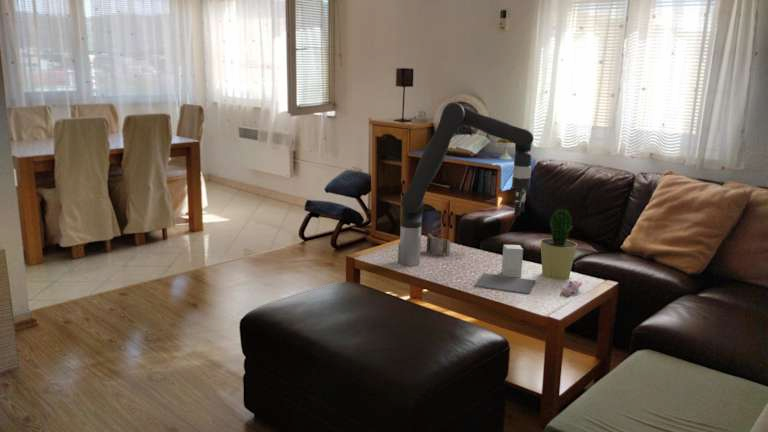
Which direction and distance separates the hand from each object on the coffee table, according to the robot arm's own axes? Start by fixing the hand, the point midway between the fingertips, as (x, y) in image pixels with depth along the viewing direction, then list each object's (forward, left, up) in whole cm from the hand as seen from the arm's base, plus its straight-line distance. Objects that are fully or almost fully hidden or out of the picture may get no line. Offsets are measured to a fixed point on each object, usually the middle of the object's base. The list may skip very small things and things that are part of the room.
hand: (518, 213), depth 273 cm
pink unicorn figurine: (+26, -19, -26) cm, 42 cm away
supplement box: (0, -6, -26) cm, 27 cm away
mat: (0, -20, -26) cm, 33 cm away
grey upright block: (-38, +12, -27) cm, 48 cm away
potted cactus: (+18, +1, -26) cm, 32 cm away
